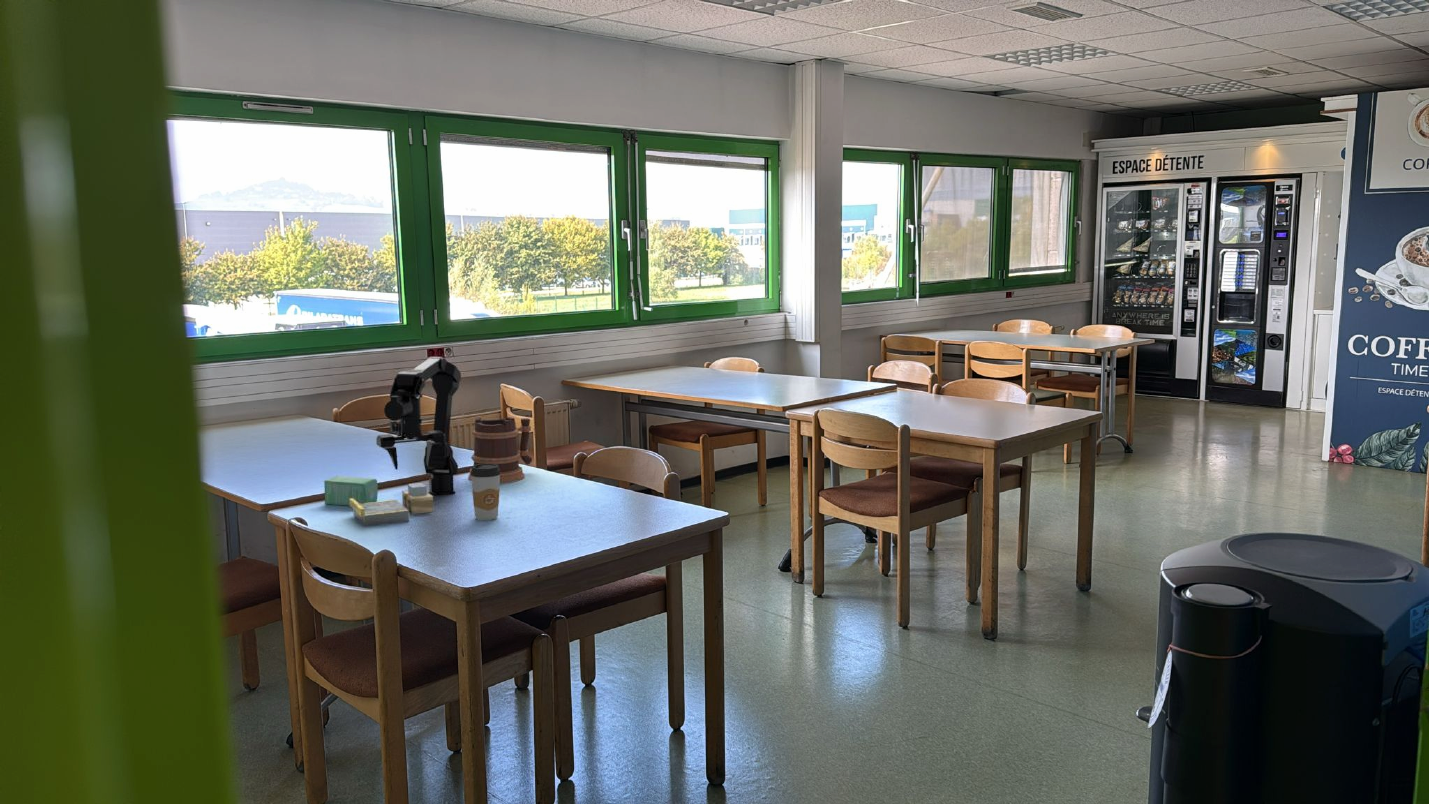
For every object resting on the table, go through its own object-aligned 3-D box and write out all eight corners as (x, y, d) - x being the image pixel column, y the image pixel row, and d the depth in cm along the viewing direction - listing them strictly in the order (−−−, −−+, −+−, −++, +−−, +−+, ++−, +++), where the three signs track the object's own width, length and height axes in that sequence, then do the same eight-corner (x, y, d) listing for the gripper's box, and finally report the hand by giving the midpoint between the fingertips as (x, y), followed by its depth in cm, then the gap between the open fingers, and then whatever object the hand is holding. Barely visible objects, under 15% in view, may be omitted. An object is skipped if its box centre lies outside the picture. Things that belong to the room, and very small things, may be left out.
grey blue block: (408, 492, 307) (407, 484, 307) (421, 491, 309) (421, 482, 309) (412, 496, 303) (412, 487, 303) (426, 494, 305) (426, 486, 305)
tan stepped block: (402, 505, 310) (402, 490, 309) (422, 503, 313) (422, 488, 313) (412, 514, 301) (412, 498, 300) (433, 511, 304) (432, 496, 303)
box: (366, 507, 308) (364, 482, 307) (324, 505, 310) (323, 480, 309) (378, 501, 315) (377, 477, 314) (337, 499, 317) (336, 475, 316)
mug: (546, 476, 351) (545, 417, 348) (485, 486, 336) (484, 425, 333) (517, 467, 364) (516, 410, 361) (457, 476, 349) (456, 417, 346)
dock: (396, 510, 305) (395, 493, 304) (409, 521, 293) (408, 503, 292) (350, 515, 298) (349, 498, 297) (361, 527, 286) (360, 509, 286)
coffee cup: (475, 523, 292) (474, 470, 289) (468, 516, 299) (466, 464, 297) (505, 519, 295) (504, 467, 293) (496, 513, 303) (495, 462, 300)
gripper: (434, 408, 315) (436, 459, 317) (370, 413, 305) (372, 465, 308) (445, 414, 305) (447, 466, 308) (380, 419, 296) (382, 473, 298)
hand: (412, 467), depth 305 cm, fingers open, 9 cm apart
